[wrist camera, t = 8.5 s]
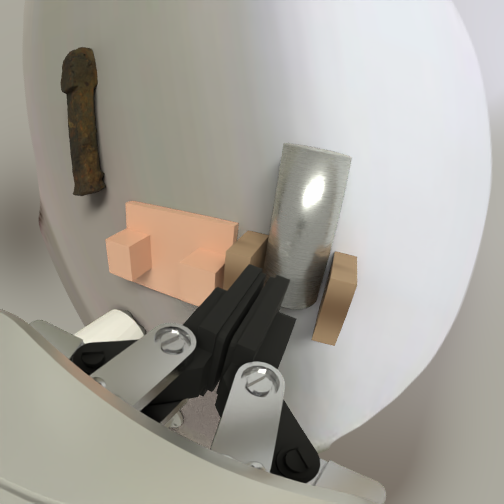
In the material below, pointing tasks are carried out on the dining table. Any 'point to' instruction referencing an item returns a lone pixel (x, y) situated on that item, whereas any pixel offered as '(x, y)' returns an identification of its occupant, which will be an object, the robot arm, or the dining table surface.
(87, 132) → the hand tool
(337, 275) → the channel block
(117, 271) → the cradle
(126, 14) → the dining table surface
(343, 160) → the axle
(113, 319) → the cup
